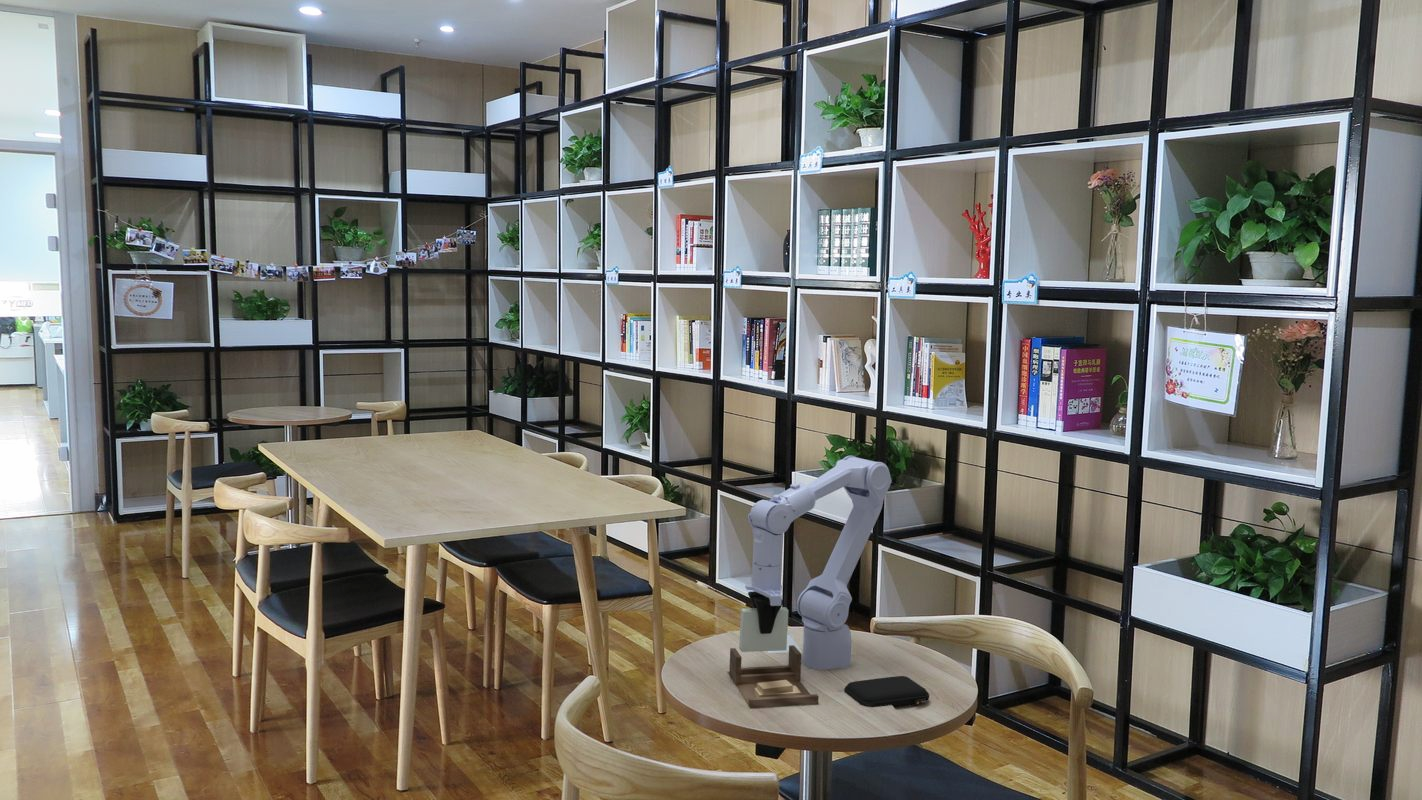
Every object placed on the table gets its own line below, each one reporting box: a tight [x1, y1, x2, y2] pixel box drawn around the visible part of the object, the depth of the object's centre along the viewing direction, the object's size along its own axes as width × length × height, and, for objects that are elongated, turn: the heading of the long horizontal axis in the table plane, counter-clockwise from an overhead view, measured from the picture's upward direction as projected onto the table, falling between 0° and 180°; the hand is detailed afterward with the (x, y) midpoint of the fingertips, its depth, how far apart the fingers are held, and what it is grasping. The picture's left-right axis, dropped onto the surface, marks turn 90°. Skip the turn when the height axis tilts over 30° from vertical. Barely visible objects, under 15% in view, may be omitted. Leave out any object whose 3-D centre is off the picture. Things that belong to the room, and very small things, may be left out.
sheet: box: [738, 606, 789, 653], centre depth 208 cm, size 9×2×8 cm, turn 103°
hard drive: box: [766, 632, 803, 654], centre depth 229 cm, size 2×8×12 cm
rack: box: [726, 645, 820, 709], centre depth 204 cm, size 13×18×6 cm
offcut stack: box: [754, 680, 801, 698], centre depth 200 cm, size 8×4×2 cm, turn 103°
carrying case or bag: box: [843, 675, 930, 709], centre depth 202 cm, size 11×3×15 cm
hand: (763, 630), depth 208 cm, fingers closed on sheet, 2 cm apart
